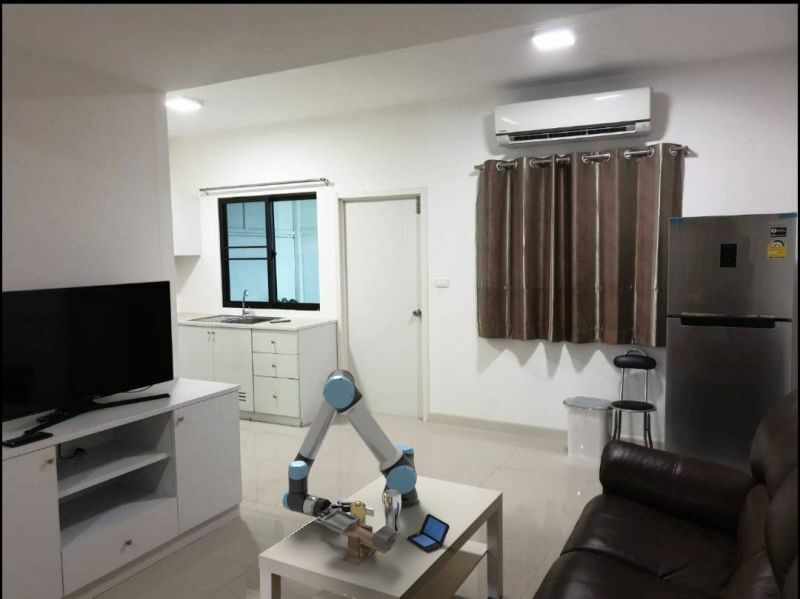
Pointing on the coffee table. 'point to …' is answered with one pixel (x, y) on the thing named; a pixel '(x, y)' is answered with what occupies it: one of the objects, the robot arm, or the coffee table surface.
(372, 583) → the coffee table surface
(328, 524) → the balance beam
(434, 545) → the handheld game console
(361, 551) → the beam stand
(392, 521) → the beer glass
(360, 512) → the brass weight
